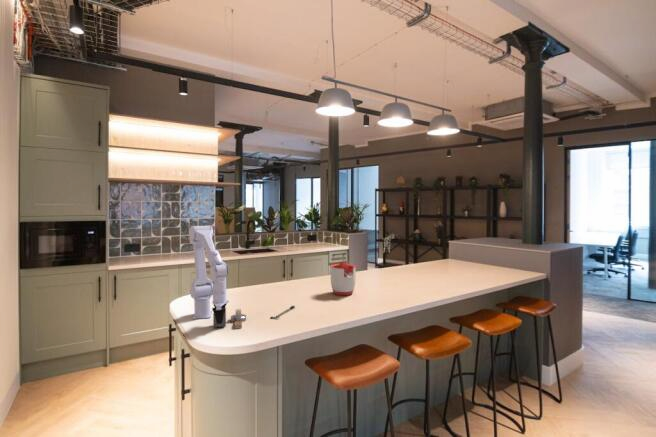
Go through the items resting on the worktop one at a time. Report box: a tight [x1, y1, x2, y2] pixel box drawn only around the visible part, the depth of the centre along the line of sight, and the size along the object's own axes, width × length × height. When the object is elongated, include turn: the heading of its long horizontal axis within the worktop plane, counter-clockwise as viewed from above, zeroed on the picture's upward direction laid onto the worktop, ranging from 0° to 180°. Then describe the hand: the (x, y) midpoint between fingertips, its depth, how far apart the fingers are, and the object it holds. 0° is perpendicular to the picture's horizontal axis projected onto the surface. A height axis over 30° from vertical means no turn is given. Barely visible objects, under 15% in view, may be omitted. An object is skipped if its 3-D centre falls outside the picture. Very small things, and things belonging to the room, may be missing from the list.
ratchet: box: [230, 308, 247, 330], centre depth 166 cm, size 16×7×5 cm, turn 14°
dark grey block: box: [212, 309, 227, 328], centre depth 161 cm, size 5×5×6 cm
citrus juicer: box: [330, 260, 357, 296], centre depth 219 cm, size 16×17×20 cm
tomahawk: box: [269, 305, 296, 321], centre depth 181 cm, size 21×7×1 cm, turn 156°
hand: (219, 321), depth 161 cm, fingers closed on dark grey block, 5 cm apart
